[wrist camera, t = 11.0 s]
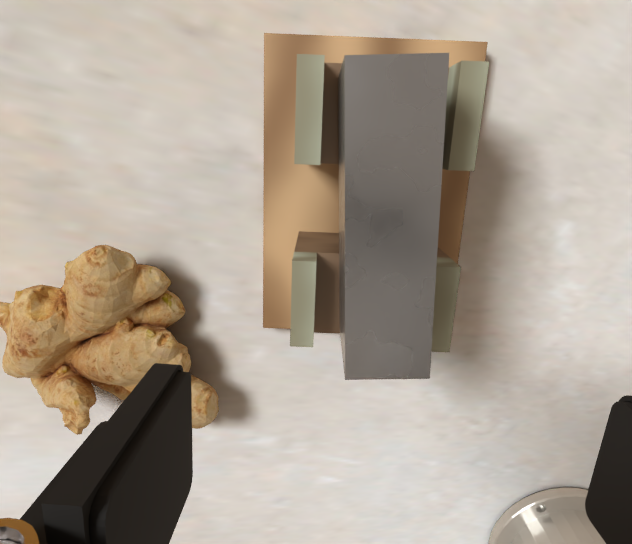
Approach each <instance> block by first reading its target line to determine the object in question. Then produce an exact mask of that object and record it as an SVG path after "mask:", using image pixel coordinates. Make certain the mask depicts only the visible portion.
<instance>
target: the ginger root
mask: <svg viewBox="0 0 632 544" xmlns="http://www.w3.org/2000/svg"><path fill="white" fill-rule="evenodd" d="M65 268H66V269H65V275H66V278H65V281H64V285H63V286H62V287H61V288H56V287H52V286H46V285H37V286H33V287H29V288H26V289H24V290H22V291H16V293H15V299H14V302H12V303H11V304H10V303H3V302H0V326H1V327H2V328H3V330H4V331H5V332H6V334H7V344H6V349H5V352H4V356H3V361H2V364H3V369H4V372H5V373H7V374H8V375H11V376H13V377H16V378H22V377H27V378H31V381H32V384H33V386H34V387H35V388H36V389H37V391H38V394H39V395H40V396H41V397H42V401H43V402H44V404H45V405H46V406H47V407H54V408H59V409H60V411H61V412H62V414H63V421H64V423H66V424H65V427H68V428H69V429H70V430H71V431H72V432H74V433H75V434H82V431H83V429H84V428H86V427H87V426H88V424H89V422H90V418H89V409H90V407H92V406H93V405H94V404H95V402H96V395H95V392H94V388H93V386H92V384H94V385H95V386H98V387H100V388H101V389H103V390H105V391H108V392H110V393H112V394H113V395H115V396H116V397H117V398H119V399H120V400H125V399H126V398H127V397H128V395H129V394H130V393H131V392H132V390H133V389H134V388H135V387H136V385H137V384H138V383H139V382H140V380H141V379H142V378H143V377H144V375H145V374H146V373H147V372H148V370H149V369H150V368H151V367H152V365H154V364H155V363H161V364H176V365H181V366H182V367H183V372H189V370H190V367H191V359H190V355H189V353H188V348H187V347H186V346H185V345H183V344H181V343H178V342H177V341H176V339H175V338H174V336H173V335H172V333H171V332H169V331H167V329H166V328H167V327H169V326H170V325H172V324H173V323H175V322H177V321H178V320H179V319H180V318H182V317H183V316H184V314H185V308H184V306H183V304H182V302H181V300H180V299H179V297H178V296H176V295H175V294H173V293H172V292H170V291H168V290H167V289H168V287H169V286H170V285H171V281H170V279H169V278H168V277H167V276H166V275H165V273H164V272H163V271H161V270H159V269H158V268H157V267H153V266H149V265H140V264H136V260H135V259H134V257H133V256H132V255H131V254H130V253H128V252H124V251H120V250H118V249H116V248H113V247H111V246H108V245H99V246H95V247H94V248H92V249H90V250H88V251H86V252H84V253H82V254H81V255H80V256H79V257H78V258H76V259H75V260H73V261H70V262H67V263H66V265H65ZM91 383H92V384H91ZM191 392H192V428H202V427H205V426H206V425H208V424H210V423H211V422H212V421H213V420H214V419H215V418H216V416H217V413H218V411H219V406H218V395H217V393H216V391H215V389H214V388H213V387H212V386H210V385H209V384H207V383H206V382H204V381H202V380H201V379H199V378H197V377H195V376H193V375H191Z"/></svg>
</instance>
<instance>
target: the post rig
mask: <svg viewBox="0 0 632 544" xmlns="http://www.w3.org/2000/svg"><path fill="white" fill-rule="evenodd" d="M486 49H487V42H471V41H446V40H421V39H396V38H371V37H347V36H322V35H297V34H272V33H264V246H263V328H285V329H291V330H290V346H296V347H313V338H314V332H318V333H340V318H339V133H338V76H339V73H340V70H341V66H342V63H343V59H344V56H345V55H373V54H414V53H449V68H448V85H447V101H446V118H445V134H444V151H443V167H442V184H441V200H440V217H439V233H438V250H437V266H436V283H435V299H434V316H433V332H432V349H431V352H449V351H450V343H451V336H452V329H453V322H454V314H455V307H456V300H457V293H458V285H459V278H460V271H461V267H460V266H459V265H458V257H459V249H460V242H461V234H462V227H463V220H464V212H465V205H466V197H467V190H468V183H469V175H470V171H474V169H475V162H476V155H477V147H478V140H479V133H480V126H481V118H482V111H483V104H484V97H485V89H486V82H487V75H488V68H489V62H487V61H485V57H486Z"/></svg>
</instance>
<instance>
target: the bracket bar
mask: <svg viewBox="0 0 632 544" xmlns="http://www.w3.org/2000/svg"><path fill="white" fill-rule="evenodd" d="M448 68H449V53H414V54H373V55H345V56H344V59H343V63H342V66H341V70H340V73H339V76H338V133H339V318H340V337H341V346H342V355H343V364H344V374H345V380H357V379H427V378H430V365H431V349H432V332H433V316H434V299H435V283H436V266H437V250H438V233H439V217H440V200H441V184H442V167H443V151H444V134H445V118H446V101H447V85H448Z"/></svg>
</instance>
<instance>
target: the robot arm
mask: <svg viewBox="0 0 632 544" xmlns="http://www.w3.org/2000/svg"><path fill="white" fill-rule="evenodd" d="M192 473H193V471H192V392H191V374H190V372H183V367H182V366H181V365H176V364H161V363H155V364H154V365H152V367H151V368H150V369H149V370H148V372H147V373H146V374H145V375H144V377H143V378H142V379H141V380H140V382H139V383H138V384H137V385H136V387H135V388H134V389H133V390H132V392H131V393H130V394H129V395H128V397H127V398H126V399H125V400H124V402H123V403H122V404H121V405H120V407H119V408H118V409H117V410H116V412H115V413H114V414H113V415H112V417H111V418H110V419H109V420H108V421H105V422H101V423H100V424H99V425H98V426H97V427H96V428H95V429H94V430H93V431H92V433H91V434H90V435H89V436H88V438H87V439H86V440H85V441H84V442H83V444H82V445H81V446H80V447H79V448H78V450H77V451H76V452H75V453H74V454H73V456H72V457H71V458H70V459H69V460H68V462H67V463H66V464H65V465H64V467H63V468H62V469H61V470H60V471H59V473H58V474H57V475H56V476H55V477H54V479H53V480H52V481H51V482H50V483H49V485H48V486H47V487H46V488H45V489H44V491H43V492H42V493H41V494H40V496H39V497H38V498H37V499H36V500H35V502H34V503H33V504H32V505H31V506H30V508H29V509H28V510H27V511H26V512H25V514H24V515H23V516H22V517H21V518H20V520H19V519H13V518H2V519H0V544H169V542H170V539H171V537H172V534H173V532H174V529H175V527H176V524H177V522H178V519H179V517H180V514H181V512H182V509H183V507H184V504H185V502H186V499H187V497H188V494H189V491H190V488H191V483H192ZM488 544H632V396H624V397H622V398H621V399H620V400H619V402H616V403H614V404H613V406H612V408H611V412H610V415H609V419H608V422H607V426H606V429H605V433H604V436H603V440H602V443H601V447H600V451H599V454H598V458H597V461H596V465H595V468H594V472H593V475H592V479H591V482H590V486H589V490H585V489H580V488H565V487H564V488H555V489H548V490H545V491H541V492H537V493H535V494H532V495H530V496H528V497H525V498H523V499H522V500H520V501H519V502H517V503H515V504H514V505H512V506H511V507H510V508H509V509H508V510H507V511H506V512H505V513H504V514H503V515H502V516H501V517H500V519H499V520H498V521H497V522H496V524H495V526H494V528H493V530H492V532H491V534H490V538H489V542H488Z"/></svg>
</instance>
